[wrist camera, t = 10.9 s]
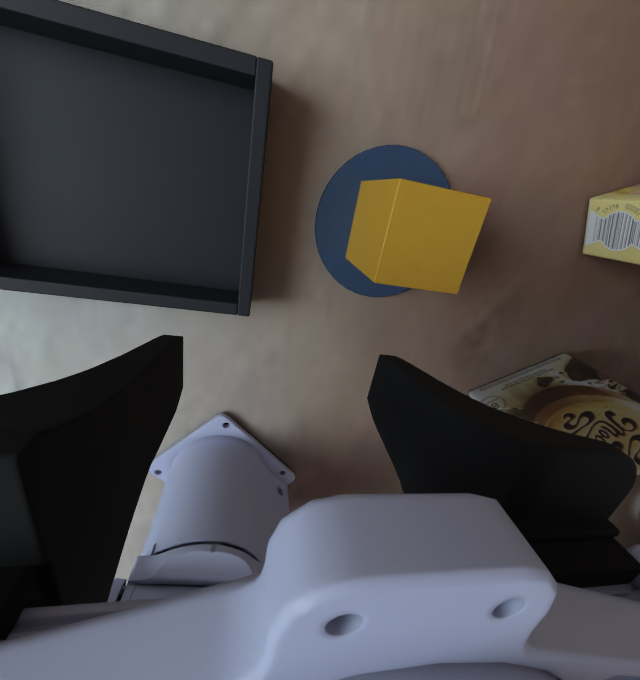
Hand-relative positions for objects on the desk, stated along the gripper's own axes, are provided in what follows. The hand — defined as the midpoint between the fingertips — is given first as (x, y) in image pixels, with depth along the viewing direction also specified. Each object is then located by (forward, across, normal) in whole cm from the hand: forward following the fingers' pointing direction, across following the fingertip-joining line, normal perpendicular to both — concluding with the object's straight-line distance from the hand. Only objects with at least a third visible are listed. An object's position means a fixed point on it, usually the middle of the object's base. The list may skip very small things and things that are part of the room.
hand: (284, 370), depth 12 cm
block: (+10, -6, -5) cm, 13 cm away
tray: (+10, +9, -5) cm, 15 cm away
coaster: (+10, -6, -5) cm, 13 cm away
